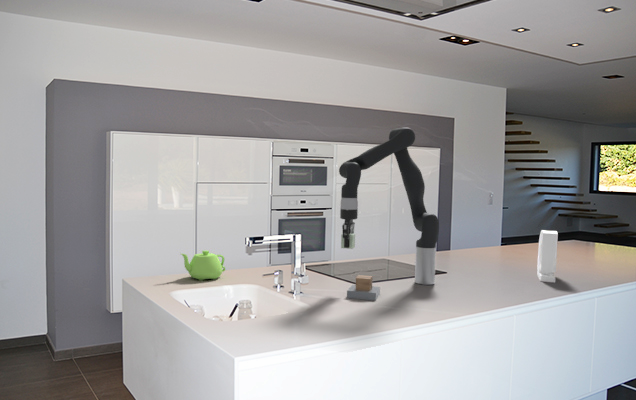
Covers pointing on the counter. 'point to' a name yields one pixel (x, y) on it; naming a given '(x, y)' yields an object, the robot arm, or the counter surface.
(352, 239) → the sage block
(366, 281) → the walnut block
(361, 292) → the slate trivet
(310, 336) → the counter surface
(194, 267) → the teapot
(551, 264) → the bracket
